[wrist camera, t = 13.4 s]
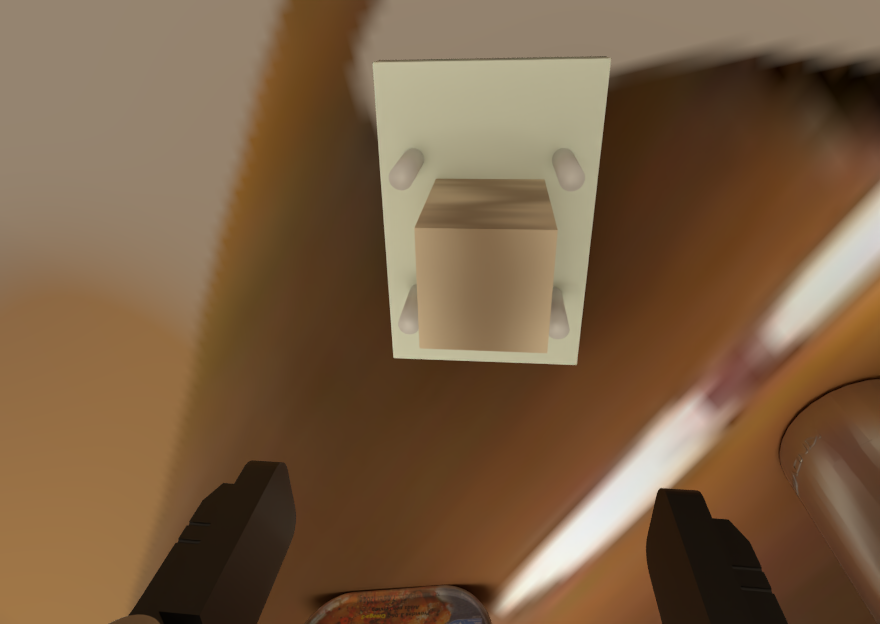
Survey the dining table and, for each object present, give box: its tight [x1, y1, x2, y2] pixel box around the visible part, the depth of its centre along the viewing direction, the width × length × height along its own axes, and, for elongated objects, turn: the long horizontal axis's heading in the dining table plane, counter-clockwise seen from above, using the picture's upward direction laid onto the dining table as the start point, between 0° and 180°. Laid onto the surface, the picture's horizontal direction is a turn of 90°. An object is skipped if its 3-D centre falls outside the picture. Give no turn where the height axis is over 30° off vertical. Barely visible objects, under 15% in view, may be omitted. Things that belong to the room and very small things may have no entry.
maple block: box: [414, 179, 558, 353], centre depth 23 cm, size 5×5×7 cm
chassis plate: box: [372, 56, 611, 365], centre depth 26 cm, size 10×15×5 cm, turn 1°
